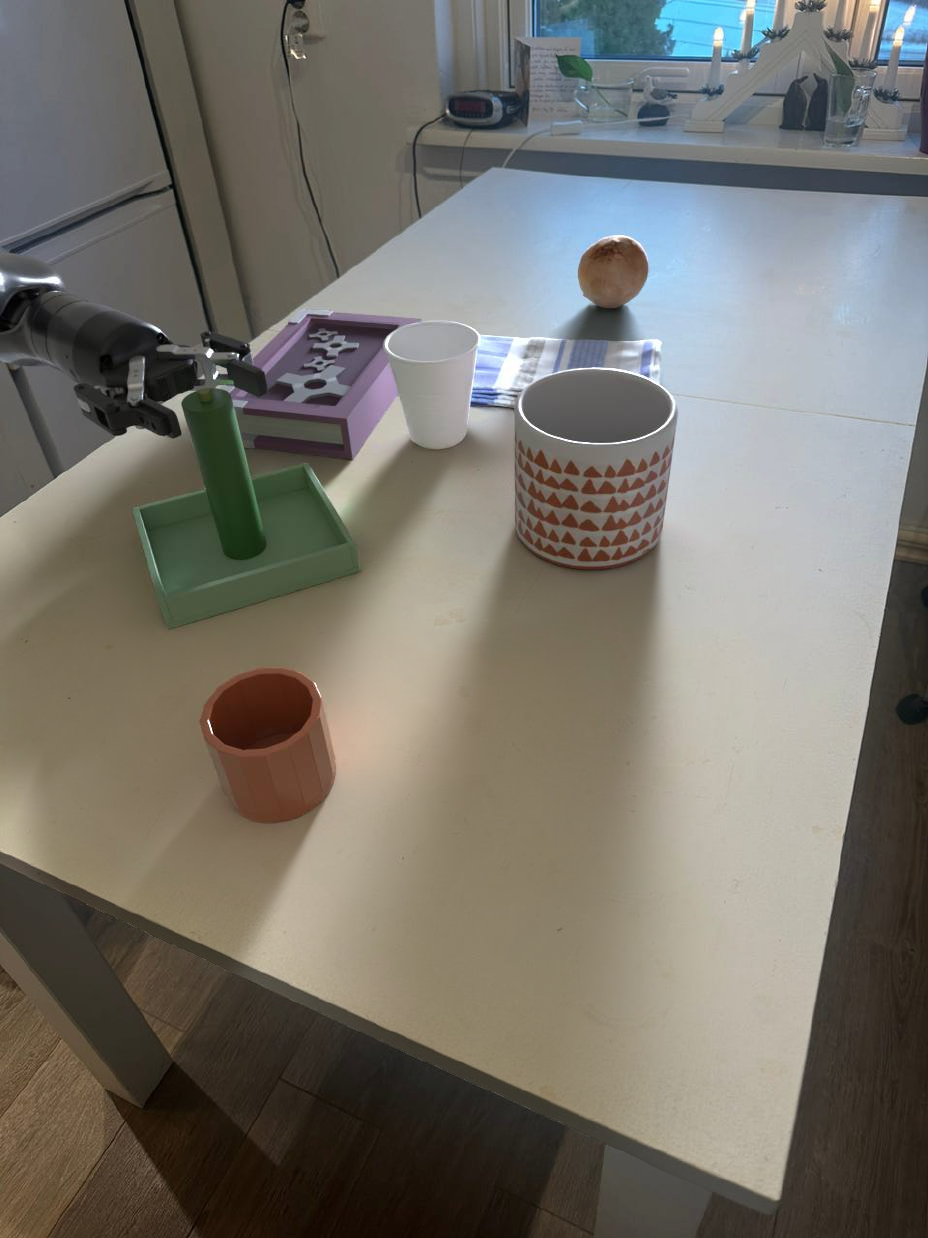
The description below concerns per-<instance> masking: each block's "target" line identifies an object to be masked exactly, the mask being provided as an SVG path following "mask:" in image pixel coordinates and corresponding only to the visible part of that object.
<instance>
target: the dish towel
mask: <svg viewBox="0 0 928 1238" xmlns="http://www.w3.org/2000/svg"><path fill="white" fill-rule="evenodd" d="M479 336H480V338H481V343H480V345H479V347H478V350H477V358H476V365H475V373H474V379H473V386H472V394H471V402H470V406H479V407H481V406H484V407H485V406H489V407H490V406H491V407H493V406H494V407H496V406H499V407H505V408H513V409H514V406H515V401H516V399H517V397H518V395H519V394H520V393H521V391H522V390H523V389H524V388H526V387H527V386H528V385H529V384H531V383H533V382H534V381H536V380H538V379H540V378H542V377H545V376H548V375H551V374H554V373H558V372H562V371H567V370H573V369H584V368H604V369H614V370H621V371H626V372H630V373H634V374H637V375H640V376H643V377H646V378H648V379H650V380H652V381H654V382H656V383H658V384H659V385H661V367H662V345H663V344H662V341H660V340H659V339H643V340H633V341H631V340H617V341H612V340H604V339H599V340H597V339H579V338H577V339H572V340H571V339H564V338H550V337H537V336H536V337H535V336H534V337H527V338H522V337H513V336H497V335H488V334H487V335H485V334H479Z"/></svg>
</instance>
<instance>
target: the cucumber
mask: <svg viewBox="0 0 928 1238" xmlns="http://www.w3.org/2000/svg"><path fill="white" fill-rule="evenodd" d="M180 403H181V404H180V405H181V409H182V413H183V415H184V419H185V422H186V426H187V431H188V433H189V436H190V441H191V444H192V447H193V450H194V451H193V452H194V454H195V457H196V461H197V465H198V468H199V471H200V475H201V479H202V482H203V485H204V489H206V493H207V496H208V500H209V503H210V507H211V510H212V514H213V517H214V521H215V524H216V528H217V531H218V535H219V538H220V542H221V545H222V549H223V552H224V554H225V555H226V556H227V557H228V558H230V559H234V560H246V559H250V558H253V557H256V556H258V555H259V554H261V553H262V552H263V551H264V550H265V548H266V544H267V543H266V538H265V534H264V530H263V526H262V522H261V518H260V514H259V509H258V505H257V501H256V497H255V493H254V489H253V485H252V480H251V477H252V476H251V473H250V469H249V464H248V461H247V456H246V452H245V448H244V447H243V443H242V439H241V435H240V431H239V427H238V423H237V418H236V414H235V410H234V406H233V402H232V398H231V394H230V393H229V392H228V391H226V390H223V389H220V388H219V387H218V388H217V387H216V388H202V389H200V390H198V391H192V392H190V393H189V394H187V395H186V396H184V397H183V399H182V400H181V402H180Z"/></svg>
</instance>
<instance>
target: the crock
mask: <svg viewBox="0 0 928 1238" xmlns="http://www.w3.org/2000/svg"><path fill="white" fill-rule="evenodd" d="M199 726H200V729H201V733H202V736H203V739H204V743H205V744H206V748H207V749H208V750H207V751H208V754H209V756H210V759H211V762H212V764H213V767H214V769H215V773H216V775H217V777H218V780H219V782H220V785H221V788H222V791H223V794H224V796H225V798H226V800H227V802H228V803H229V806H230V807H231V808H232V809H233V810H234V811H235V812H236V813H237V814H238V815H240V816H242V817H244V818H245V819H247V820H250V821H253V822H258V823H262V824H263V823H265V824H266V823H267V824H277V823H283V822H288V821H291V820H294V819H297V818H300V817H302V816H304V815H306V814H307V813H309V812H311V811H312V810H313V809H315V808H317V806H318V805H320V804H321V803H322V802H323V801H324V800H325V799H326V797H327V796H328V794H329V793H330V791H331V790H332V787H333V785H334V782H335V779H336V776H337V775H336V774H337V765H336V756H335V750H334V747H333V742H332V739H331V738H332V737H331V734H330V733H331V732H330V729H329V725H328V720H327V715H326V711H325V707H324V702H323V697H322V696H321V693H320V690H319V689H318V686H317V684H316V683H315V682H314V681H313V680H311V678H309V677H308V676H306V675H305V674H304V673H302V672H300V671H297V670H292V669H289V668H285V667H280V666H279V667H260V668H259V667H258V668H255V669H252V670H249V671H246V672H243V673H240V674H236V675H234V676H232V677H231V678H229V679H228V680H227V681H225V682H223V683H222V684H220V685H218V687H216V689H214V691H213V692H212V694H211V695H210V696H209V697H208V699H206V701H205V702H204V703H203V706H202V711H201V714H200V718H199Z"/></svg>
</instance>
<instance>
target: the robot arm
mask: <svg viewBox="0 0 928 1238" xmlns="http://www.w3.org/2000/svg"><path fill="white" fill-rule="evenodd" d="M200 340H201V342H200V343H198V344H195V345H193V346H190V345H187V344H177V343H174V342H173V341H172V340H171V339H170V338H169V337H168V336H167V335H166V334H165V333H164V332H163V331H162V330H161V329H160V328H159V327H157V326H155V325H154V324H152V323H150V322H147V321H144V320H142V319H140V318H138V317H135V316H133V315H130V314H127V313H126V312H123V311H121V310H118V309H115V308H113V307H111V306H108V305H105V304H101V303H94V302H92V301H90V300H87V299H85V298H82V297H80V296H77V295H76V294H73V293H70V292H68V290H67V286H66V283H65V281H64V278H63V277H62V276H61V274H60V273H59V272H58V271H57V270H56V268H54V267H53V266H51V264H48V263H47V262H45V261H43V260H41V259H39V258H37V257H33V256H30V255H27V254H21V253H13V252H0V362H4V363H6V364H10V365H14V366H19V367H20V366H22V367H48V366H49V367H51V368H52V369H55V370H57V371H59V372H61V373H63V374H64V375H66V376H67V377H68V378H69V379H71V380H72V381H73V382H75V383H77V384H76V385H74V386H73V392H74V393H75V397H76V399H77V401H78V405H79V407H80V410H81V412H82V415H83V417H85V418H86V419H87V420H89V421H91V422H92V423H93V424H95V425H96V426H98V427H99V428H102V430H104V431H106V432H107V433H109V434H110V435H112V436H115V437H120V436H123V435H125V434H127V433H128V428H131V427H134V428H135V429H137V430H146V431H149V432H151V433H153V434H155V435H157V436H159V437H167V438H169V439H172V440H174V439H177V438H179V437H181V436H182V435H183V432H182V429H181V425H180V421H179V419H178V416H177V413H176V412H175V411H174V410H173V409H171V408H169V407H167V406H165V405H163V404H162V403H165V402H167V401H170V400H171V399H173V398H175V397H176V396H178V395H181V394H184V393H187V392H195V391H198V390H200V389H202V388H217V386H226V385H234V387H236V388H239V389H241V390H243V391H245V392H248V393H250V394H252V395H254V396H257V397H261V396H263V395H266V394H267V383H266V378H265V373H264V371H263V369H261V368H258V367H256V366H254V363H253V358H254V357H253V354H252V347H251V344H250V343H248V342H245V341H242V340H239V339H237V338H236V339H235V338H233V337H230V336H227V335H224V334H221V333H218V332H215V331H213V330H206V331H203V332H201V333H200ZM198 362H199V363H200V364H201V369H202V372H203V377H204V378H199V377H198V374H199V373H198V369H199V368H198V367H199V366H198ZM217 367H221V368H223V369H225V370H226V373H219V372H218V371H217ZM160 402H162V403H160Z"/></svg>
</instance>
